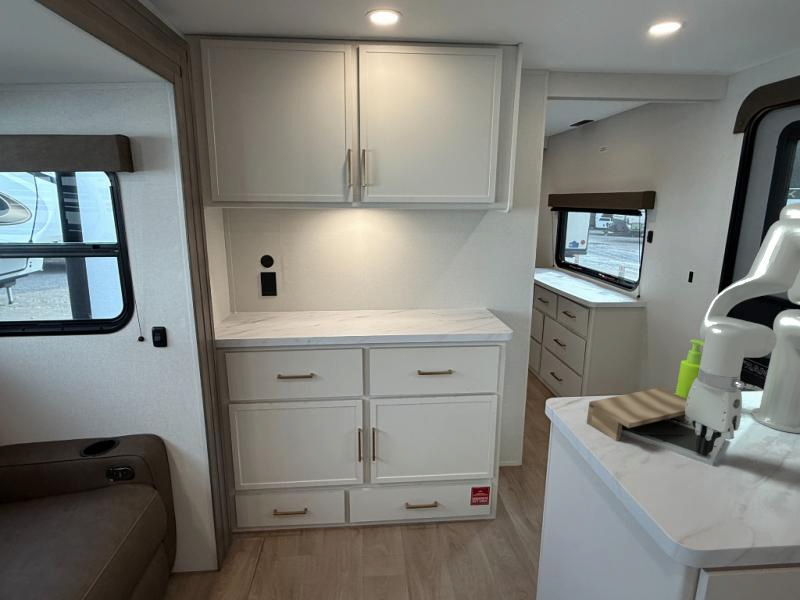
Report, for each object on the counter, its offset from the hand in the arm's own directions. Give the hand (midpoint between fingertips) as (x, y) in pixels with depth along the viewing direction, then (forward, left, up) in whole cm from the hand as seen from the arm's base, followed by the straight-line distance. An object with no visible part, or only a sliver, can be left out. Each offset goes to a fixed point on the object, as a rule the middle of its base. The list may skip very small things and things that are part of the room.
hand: (703, 451), depth 107 cm
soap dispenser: (-23, -20, -2) cm, 30 cm away
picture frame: (-2, -9, -3) cm, 10 cm away
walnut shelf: (0, -16, -1) cm, 16 cm away
